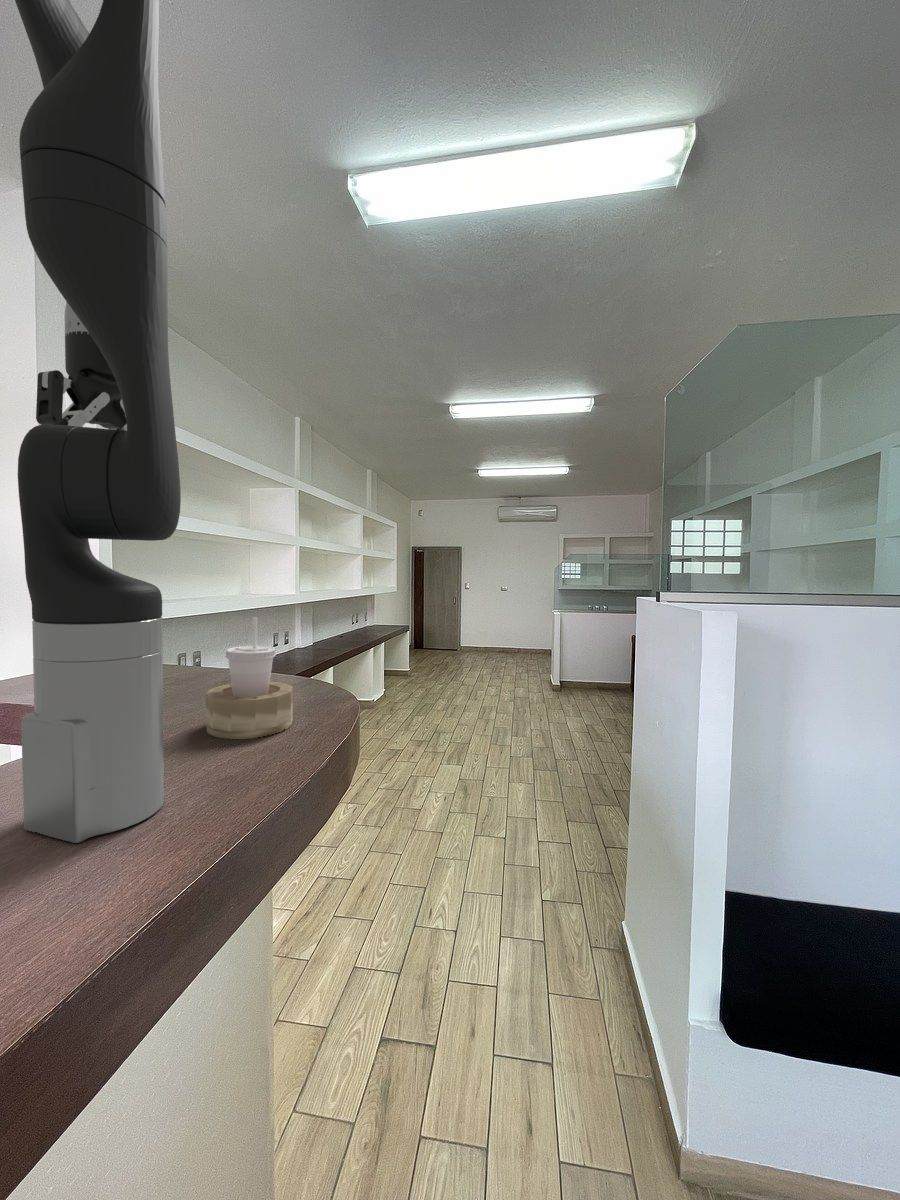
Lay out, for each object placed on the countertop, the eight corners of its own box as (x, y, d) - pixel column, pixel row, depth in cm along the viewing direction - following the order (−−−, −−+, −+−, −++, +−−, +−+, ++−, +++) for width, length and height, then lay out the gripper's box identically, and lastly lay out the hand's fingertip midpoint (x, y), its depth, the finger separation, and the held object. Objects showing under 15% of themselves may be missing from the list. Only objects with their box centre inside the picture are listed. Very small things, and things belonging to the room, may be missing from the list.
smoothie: (264, 726, 67) (265, 620, 66) (216, 725, 67) (216, 619, 66) (281, 713, 73) (282, 616, 72) (237, 711, 73) (237, 614, 73)
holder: (257, 743, 63) (257, 704, 63) (187, 732, 67) (187, 695, 66) (308, 719, 74) (308, 685, 73) (245, 711, 77) (245, 678, 77)
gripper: (65, 310, 56) (68, 461, 57) (173, 362, 69) (174, 483, 70) (18, 319, 58) (21, 464, 59) (131, 367, 71) (133, 484, 72)
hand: (104, 474), depth 64 cm, fingers open, 8 cm apart
